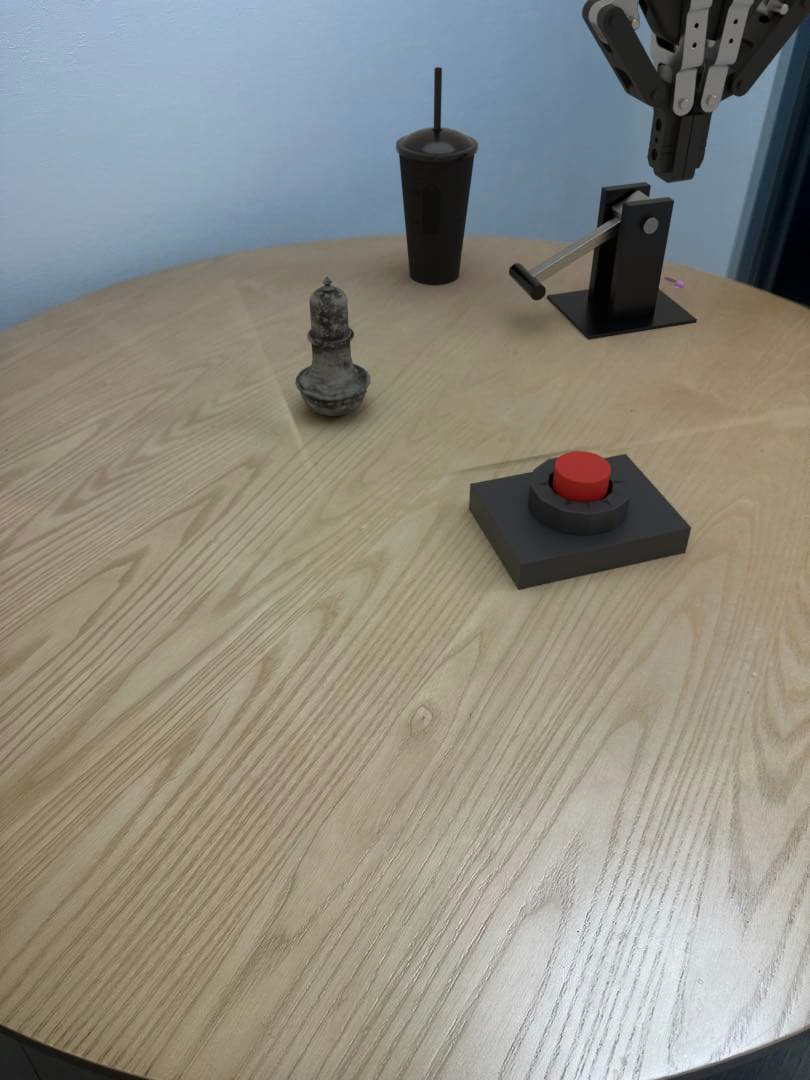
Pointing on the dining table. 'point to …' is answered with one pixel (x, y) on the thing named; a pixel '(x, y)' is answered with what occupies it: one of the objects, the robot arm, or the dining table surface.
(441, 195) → the drinking cup
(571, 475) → the button
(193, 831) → the dining table surface
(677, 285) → the earpods
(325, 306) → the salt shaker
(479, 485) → the button box
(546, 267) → the press lever
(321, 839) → the dining table surface
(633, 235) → the lever bracket
